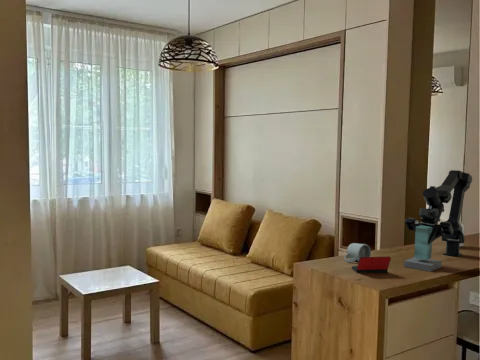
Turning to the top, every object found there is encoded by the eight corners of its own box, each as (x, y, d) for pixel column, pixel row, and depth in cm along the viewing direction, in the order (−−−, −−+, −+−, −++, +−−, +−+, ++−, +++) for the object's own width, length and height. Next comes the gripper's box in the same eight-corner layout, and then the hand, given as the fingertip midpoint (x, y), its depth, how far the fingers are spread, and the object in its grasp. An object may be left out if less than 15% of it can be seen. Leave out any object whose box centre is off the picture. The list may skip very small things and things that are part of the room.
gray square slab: (415, 262, 199) (415, 256, 199) (441, 267, 191) (441, 261, 191) (403, 266, 191) (404, 260, 191) (430, 271, 183) (430, 265, 183)
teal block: (419, 255, 195) (421, 225, 194) (431, 258, 191) (432, 227, 190) (414, 257, 191) (415, 226, 190) (426, 260, 188) (427, 228, 186)
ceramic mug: (356, 257, 207) (357, 240, 207) (371, 261, 200) (371, 243, 200) (339, 260, 201) (340, 243, 201) (354, 264, 195) (354, 246, 194)
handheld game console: (380, 268, 189) (381, 250, 188) (391, 275, 178) (391, 256, 178) (350, 268, 188) (351, 250, 187) (359, 276, 177) (359, 256, 177)
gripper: (407, 199, 199) (394, 227, 192) (452, 202, 186) (440, 233, 179) (414, 215, 205) (402, 243, 198) (458, 220, 192) (447, 250, 185)
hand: (422, 242), depth 190 cm, fingers closed on teal block, 5 cm apart
